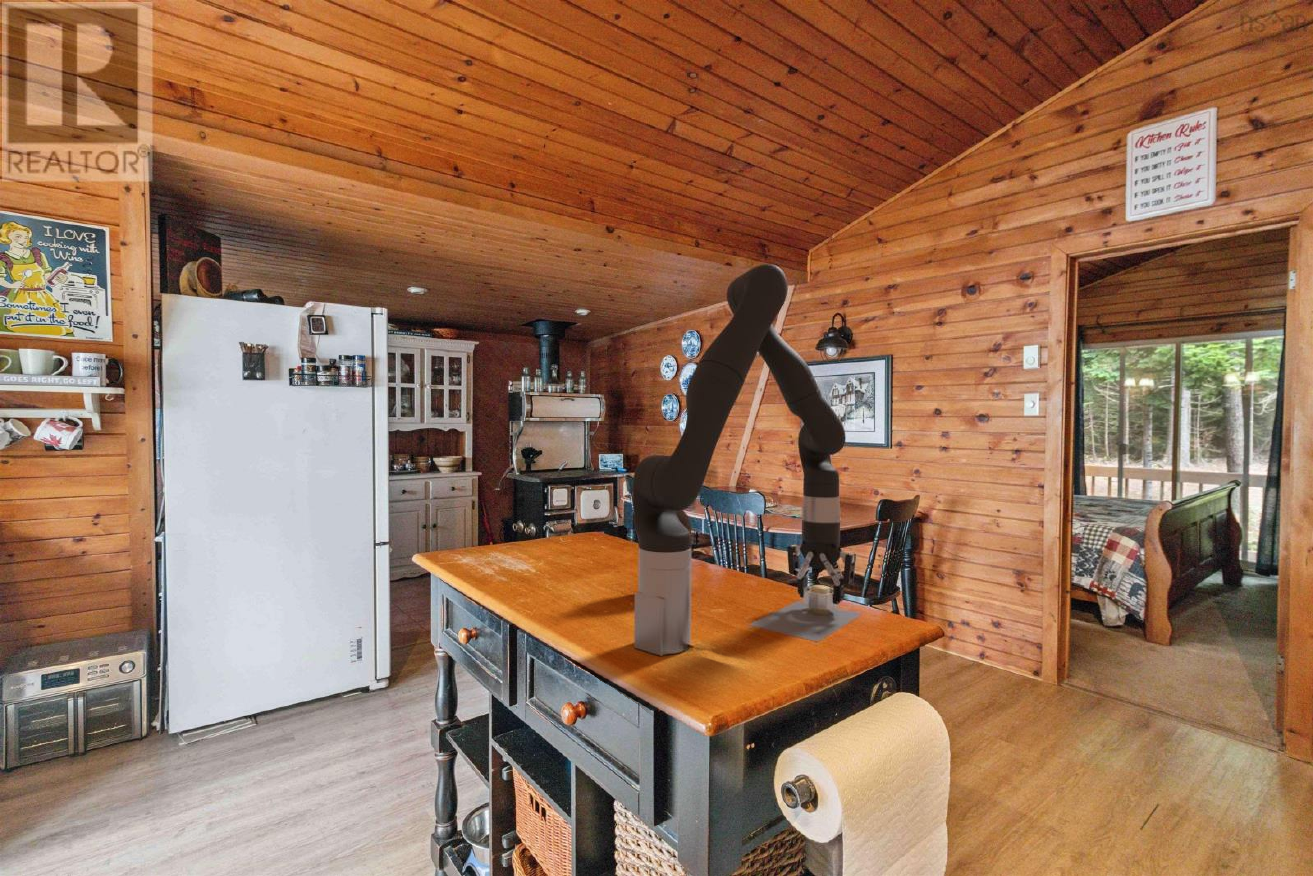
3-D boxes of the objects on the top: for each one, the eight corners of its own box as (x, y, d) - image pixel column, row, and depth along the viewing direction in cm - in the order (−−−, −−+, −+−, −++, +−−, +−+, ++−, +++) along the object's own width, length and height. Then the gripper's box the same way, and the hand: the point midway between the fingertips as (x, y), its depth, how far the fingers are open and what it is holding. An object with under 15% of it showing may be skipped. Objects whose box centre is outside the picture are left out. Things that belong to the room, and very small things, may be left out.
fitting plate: (817, 647, 105) (817, 613, 105) (747, 630, 114) (748, 598, 114) (862, 618, 122) (862, 588, 121) (798, 605, 130) (798, 577, 130)
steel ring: (828, 611, 118) (829, 596, 118) (797, 605, 122) (797, 590, 122) (842, 604, 123) (842, 589, 123) (812, 598, 127) (812, 584, 127)
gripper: (780, 516, 124) (779, 597, 124) (848, 524, 115) (847, 611, 115) (796, 512, 130) (796, 590, 130) (862, 519, 121) (862, 602, 121)
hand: (820, 599), depth 123 cm, fingers closed on steel ring, 6 cm apart
